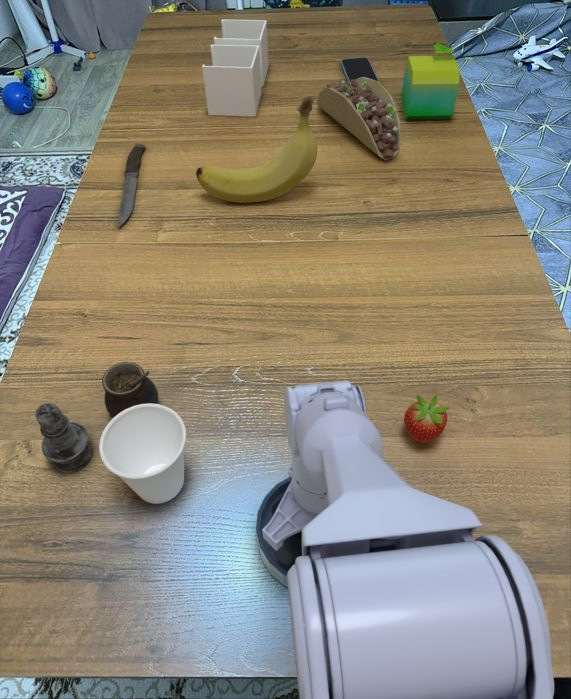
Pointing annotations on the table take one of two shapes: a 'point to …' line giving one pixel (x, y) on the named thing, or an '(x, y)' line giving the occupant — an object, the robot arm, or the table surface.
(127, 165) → the knife
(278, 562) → the bowl
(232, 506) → the table surface
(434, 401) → the fruit
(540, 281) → the table surface
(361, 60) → the smartphone
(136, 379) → the mate gourd
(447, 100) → the leaf-topped green cube
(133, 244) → the table surface
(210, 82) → the storage container
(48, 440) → the chess piece
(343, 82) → the taco
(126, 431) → the cup
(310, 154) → the banana
